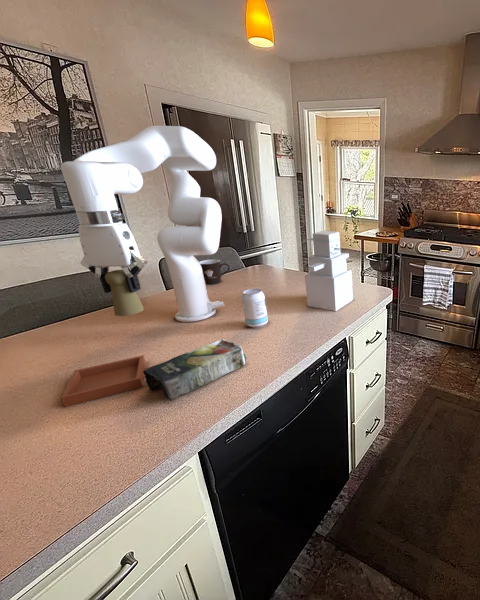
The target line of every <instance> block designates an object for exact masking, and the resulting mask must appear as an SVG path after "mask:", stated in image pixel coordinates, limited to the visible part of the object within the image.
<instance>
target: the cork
mask: <svg viewBox="0 0 480 600" xmlns="http://www.w3.org/2000/svg"><path fill="white" fill-rule="evenodd" d="M126 278H127V275H126V274H125V272H124V271H123V269H115V270H111V271H109V272H108V273H107V274H106V275H105V280H106V282H107V283H108V284H109V285H110V286H111V292H110V293H111V298H112V299H111V300H112V307H113V313H114V315H115V316H116V317H127V316H132V315H137V314H140V313H141V312H143V311H144V310H145V308H144V306H143V304H142V301H141V299H140V297H139V295H138V294H137V291H136V292H134V293H130V292H129V289H128V286H127V283H126V280H125V279H126Z"/></svg>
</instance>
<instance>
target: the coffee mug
mask: <svg viewBox="0 0 480 600" xmlns="http://www.w3.org/2000/svg"><path fill="white" fill-rule="evenodd" d="M198 262H199V263H200V265H201V267H202V271H203V276H204V280H205V285H217V284H220V283H222V276H224V275H225V274H227V273H228V272H229V271H230V269H231V267H230V265H229V264H228V263H224V262H223V263H221V260H220V259H205V260H201V261H198ZM223 266H226V267H228V269H227V270H225V271H224V272H223V273H221V268H222V267H223Z"/></svg>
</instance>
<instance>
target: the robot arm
mask: <svg viewBox="0 0 480 600" xmlns="http://www.w3.org/2000/svg"><path fill="white" fill-rule="evenodd" d="M160 165H162V167H163V169H164V170H165V173H166V174H167V176H168V178H169V181H170V192H169V193H170V194H169V201H168V205H167V206H168V207H167V217H168V219H169V221H170V222H171V223H172V224H174V225H172V226H166V227H163V228H161V230H159V232H158V233H157V237H156V240H157V244H158V246H159V249H160V251H161V253H162V255H163V257H164V260H165V262H166V266H167V269H168V273H169V276H170V280H171V283H172V284H171V285H172V288H173V292H174V296H175V301H176V304H177V308H178V312H176V313H175V314H174V318H175V320H176V321H178V322H182V323H191V322H198V321H202V320H206V319H209V318H210V317H213V316H214V315H215V314H216V312H217V310H216V309H217V308H223V307H225V302H224V301H220V300H216V301H212V300H211V299H210V298H209V295H208V291H207V284H206V283H205V280H204V276H203V271H202V267H201V265H200V263H199V262H200V261H199V260H198V259H197V257H195V256H211V255H215V254H216V253H217V252H218V250H219V248H220V242H221V231H222V220H223V215H222V207H221V206H220V204H219V202H218V201H217V200H216V199H214V198H212V197H207V196H205V197H204V196H201V186H200V185H199V184H198V181H197V180H196V179H194V177H192V175H190V173H189V172H188V171H192V172H193V171H197V172H198V171H201V172H207V171H212V170H213V169H215V168H216V166H217V156H216V153H215V151H214V150H213V148H212V147H211V146H210V145H209V144H208V143H207V142H206V141H205V140H204V139H202V138H201V136H199V135H198V134H196V133H195V132H194V131H193V130H191V129H189V128H187V127H185V126H181V125H149V126H147V127H145V128H144V129H142V130H140V131H139V132H138V133H136V134H135V135H133V136H132V137H130V138H128V139H127V140H125V141H121V142H120V141H119V142H117V143H114V144H110V145H106V146H104V147H100V148H96V149H93V150H89V151H87V152H85V153H84V154H82V155H80V156H78V157H77V158H75V159H74V160H72V161H71V160H70V161H69V160H68V161H64V162H62V163H61V165H60V170H61V173H62V175H63V178H64V182H65V184H66V188H67V191H68V193H69V196H70V199H71V202H72V205H73V207H74V210H75V214H76V216H77V219H78V222H79V225H78V237H79V242H80V246H81V249H82V254H83V257H82V259H81V261H80V265H81V266H83V267H84V268H86V269H88V270H89V271H90V272H92V273H93V274H94V276H95V277H96V278H99V280H100V283H101V286H102V289H103V293H105V294H109V293H111V286H110V285H109V284H108V283H107V282H106V280H105V275H106V274H107V273H108V272H110V267H120V268H121V270H123V271H124V272H125V274H126V275H127V278H126V279H125V280H126V283H127V286H128V289H129V292H130V293H134V292H136V293H137V292H138V291H140V290H141V289H142V287H141V283H140V279H139V276H138V275H140V273H141V272H142V270H143V268H144V267H145V266H146V265H147V264H148V261H147V260H146V259H145V258H144V257H143V256H141V253H140V250H139V248H138V245H137V242H136V239H135V236H134V234H133V233H132V231H131V229H130V227H129V226H128V224H127V223H126V222H123V220H125V218H126V216H125V214H124V213H120V209H119V206H118V203H117V201H116V196H115V195H132V194H136V193H138V192H139V191H140V190H141V189H142V187H143V185H144V179H143V175H142V174H144V173H148V172H152V171H154V170H156V169H157V168H158V167H159V166H160ZM135 263H136V264H135Z"/></svg>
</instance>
